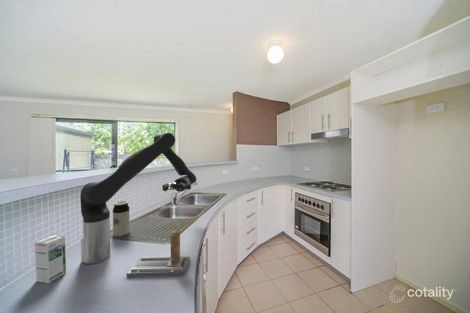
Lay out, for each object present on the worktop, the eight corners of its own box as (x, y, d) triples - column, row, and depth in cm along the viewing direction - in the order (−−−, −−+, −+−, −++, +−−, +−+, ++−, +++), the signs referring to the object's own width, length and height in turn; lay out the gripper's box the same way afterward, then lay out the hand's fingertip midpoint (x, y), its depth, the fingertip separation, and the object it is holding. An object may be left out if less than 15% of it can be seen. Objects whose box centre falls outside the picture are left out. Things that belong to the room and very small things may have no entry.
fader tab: (166, 268, 68) (166, 234, 68) (171, 258, 74) (171, 228, 74) (179, 267, 68) (179, 234, 68) (183, 258, 74) (183, 228, 74)
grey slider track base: (126, 277, 66) (126, 271, 66) (140, 261, 76) (140, 255, 76) (183, 275, 66) (183, 269, 66) (189, 259, 76) (189, 254, 76)
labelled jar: (124, 229, 107) (124, 200, 107) (132, 232, 104) (132, 201, 104) (110, 235, 100) (109, 203, 100) (118, 238, 97) (117, 205, 96)
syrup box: (48, 284, 63) (47, 243, 62) (35, 281, 64) (34, 241, 64) (66, 273, 68) (65, 235, 68) (54, 271, 69) (53, 234, 69)
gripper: (169, 177, 105) (158, 181, 89) (194, 177, 105) (187, 181, 89) (169, 190, 105) (158, 196, 89) (194, 190, 105) (187, 196, 89)
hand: (173, 189), depth 89 cm, fingers open, 8 cm apart
